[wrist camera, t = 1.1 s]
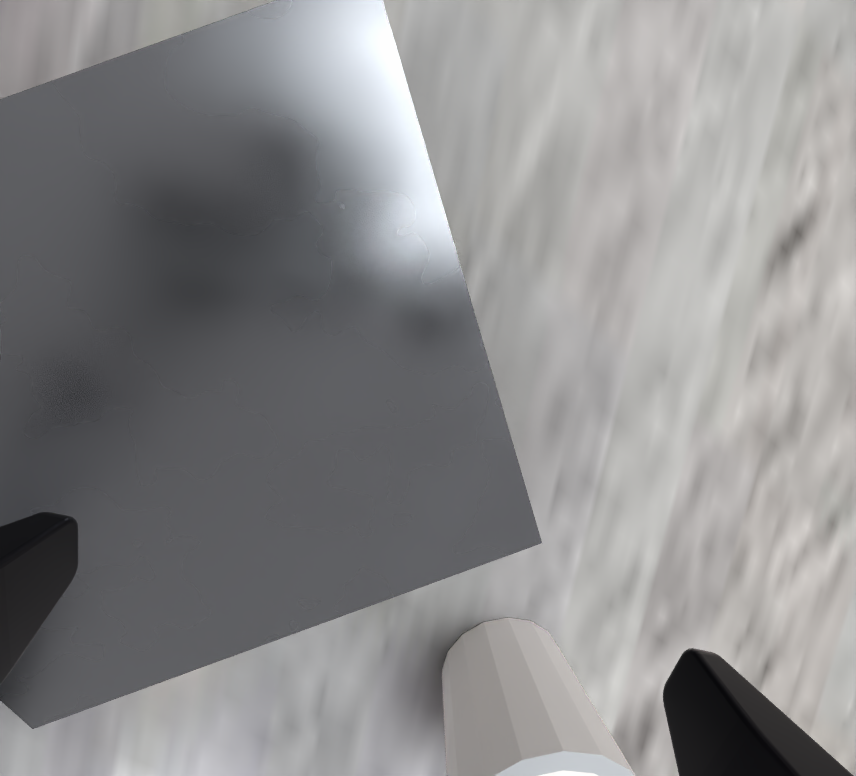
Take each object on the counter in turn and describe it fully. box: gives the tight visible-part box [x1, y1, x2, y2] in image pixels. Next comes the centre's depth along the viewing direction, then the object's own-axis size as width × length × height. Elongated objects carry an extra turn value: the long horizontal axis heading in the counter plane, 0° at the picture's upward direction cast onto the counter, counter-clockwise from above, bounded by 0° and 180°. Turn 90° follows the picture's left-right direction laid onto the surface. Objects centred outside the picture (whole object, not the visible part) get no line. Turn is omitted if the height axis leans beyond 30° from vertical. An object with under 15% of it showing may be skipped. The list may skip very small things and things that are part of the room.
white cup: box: [442, 617, 636, 776], centre depth 20 cm, size 7×7×7 cm
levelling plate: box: [0, 0, 542, 729], centre depth 14 cm, size 18×16×2 cm
